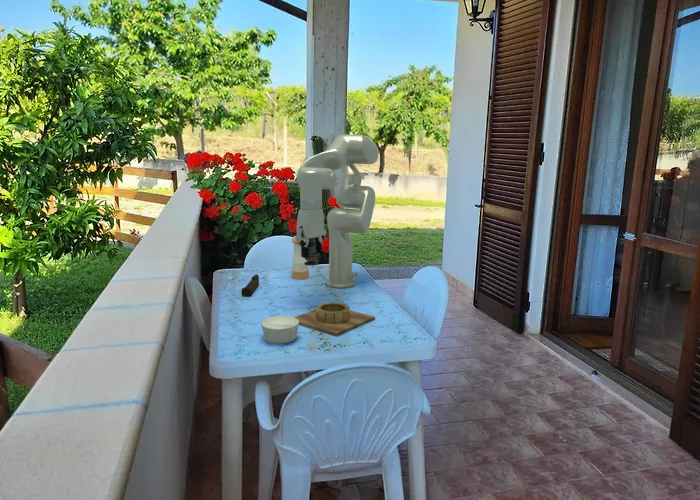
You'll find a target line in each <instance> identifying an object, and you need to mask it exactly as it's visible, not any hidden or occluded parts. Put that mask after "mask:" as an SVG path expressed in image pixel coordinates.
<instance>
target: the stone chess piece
mask: <svg viewBox="0 0 700 500" xmlns="http://www.w3.org/2000/svg"><path fill="white" fill-rule="evenodd" d="M316 244H317V243H316V238H311V239H309V243H308V246H307V247H309V258H305V259H306V260H307V262H305V263H304V264H305V265H308V267H309V266H311V267H313V266H318V265H320V263H319V262H318V260H319V257H320V256H321V255H320V254H319V253H317V252H316Z"/></svg>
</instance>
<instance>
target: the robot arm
mask: <svg viewBox="0 0 700 500" xmlns="http://www.w3.org/2000/svg"><path fill="white" fill-rule="evenodd" d="M379 153H380V152H379V149H378V146H377V144H376V143H375V142H374V141H373V140H372V139H371V138H370V137H368V136H367V135H364V134H349V133H348V134H340V135H338V136H336V137H335V138H334V140H333V141H332V142H331V143H330V145H329V146H328V147H327V148H326V150H325V151H323V152H320V153H318V154H315V155H313V156H311V157H309V158H307V159H306V160H305V161H304V162H303V163H302V164H301V165H300V167H299V168H298V170H297V173H296V183H297V185H298V186H299V192H300V193H299V196H300V198H299V202H300V203H299V204H300V209H299V210H298V213H297V218H296V235H295V236H296V237H295V239H296V241H297V242H298V243H299V244H300V246H301V257H303V258H309V247H307V246H308V243H309V239H311V238H316V243H317V244H316V252H317V253H319V254H320V255H319V256H321V255H323V253H322V249H323V248H322V245H323V243H324V242H323V241H324V239H325V237H326V235H327V234H328V238H329V239H328V241H329V244H328V245H329V246H328V247H329V249H328V251H329V252H328V255H329V256H328V263H329V264H328V271H329V272H328V278H327V279H326V280H325V283H324V284H325V285H326V286H327V287H330V288H336V289H347V288H353V287H355V286H356V283H357V282H356V280H355V279H354V278H356V277H358V276H359V272H357V271H353V250H354V249H353V248H354V247H353V240H352V237H351V235H349V233H352V234H366V233H367V232H369V231H368V230H370V226H371V223H372V217H373V214H374V210H375V209H374V208H375V204H376V192H375V190H374V188H373V187H371V186H369V185H361V184H362V181H363V176H362V174H361V172H360V171H359V169H358V168H357V167H356V165H374V164H375V163H377V161H378V160H379V159H378V158H379ZM339 169H340V171H341V177H340V178H341V179H340V182H339V187H338V190H337V194H336V205H338V206H339V207H337V208H336V207H335V208H332V209H331V210H329V211H328V213H327V216H326V222H327V223H326V224H327V226H328V227H327V228H328V232H327V230H326V229H325V217H324V210H323V190H330V189H332V188H334V186H335V185H336V183H337V174H336V172H335V171H337V170H339ZM304 240H306V241H305V242H304Z"/></svg>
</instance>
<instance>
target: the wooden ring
mask: <svg viewBox="0 0 700 500" xmlns="http://www.w3.org/2000/svg"><path fill="white" fill-rule="evenodd" d="M315 310H316V319H317V320H318V321H320V322H323V323H330V324H337V323H343V322H346V321H348V320H349V318H350V310H351V307H350V306H349V305H348V304H345V303H342V302H330V301H329V302H323V303H320V304H317V305H316V306H315Z"/></svg>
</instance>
